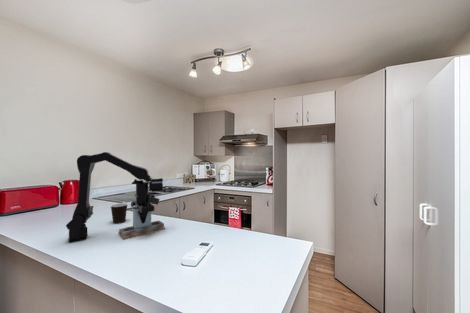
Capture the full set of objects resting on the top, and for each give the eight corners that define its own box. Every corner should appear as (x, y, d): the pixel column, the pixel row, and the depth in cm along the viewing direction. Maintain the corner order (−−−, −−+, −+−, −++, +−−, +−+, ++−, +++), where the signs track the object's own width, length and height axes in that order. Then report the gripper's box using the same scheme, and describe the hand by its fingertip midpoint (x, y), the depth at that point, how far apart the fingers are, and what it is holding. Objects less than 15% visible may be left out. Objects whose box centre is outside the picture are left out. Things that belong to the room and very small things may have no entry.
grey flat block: (134, 228, 103) (134, 210, 103) (133, 227, 105) (133, 209, 105) (151, 225, 108) (151, 208, 108) (149, 223, 110) (149, 207, 110)
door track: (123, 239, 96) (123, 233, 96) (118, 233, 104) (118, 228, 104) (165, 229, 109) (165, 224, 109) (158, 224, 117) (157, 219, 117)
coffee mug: (122, 224, 118) (122, 206, 118) (107, 224, 118) (107, 206, 118) (132, 218, 130) (132, 202, 130) (119, 218, 130) (119, 202, 130)
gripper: (164, 192, 105) (164, 223, 105) (151, 188, 119) (151, 215, 119) (141, 195, 97) (141, 228, 97) (130, 190, 111) (130, 219, 111)
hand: (142, 222), depth 106 cm, fingers closed on grey flat block, 3 cm apart
